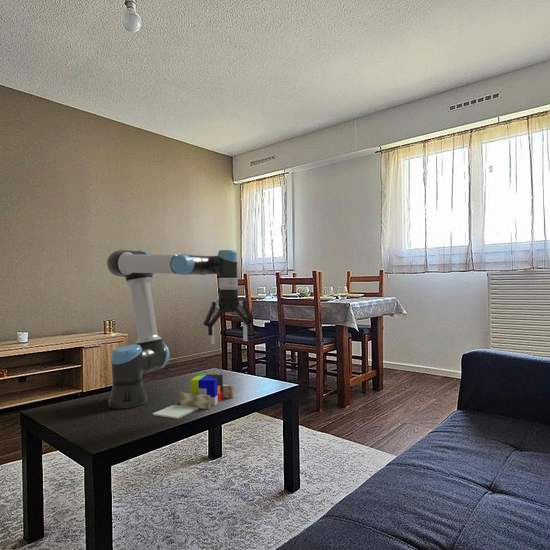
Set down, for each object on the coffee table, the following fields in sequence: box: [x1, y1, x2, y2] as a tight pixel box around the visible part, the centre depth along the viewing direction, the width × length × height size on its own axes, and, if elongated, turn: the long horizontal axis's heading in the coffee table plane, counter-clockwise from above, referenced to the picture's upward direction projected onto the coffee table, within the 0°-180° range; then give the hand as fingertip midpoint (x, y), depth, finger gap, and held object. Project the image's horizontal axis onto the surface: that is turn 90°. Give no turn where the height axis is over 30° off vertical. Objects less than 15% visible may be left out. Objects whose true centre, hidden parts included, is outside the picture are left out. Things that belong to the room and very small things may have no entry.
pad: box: [152, 404, 199, 420], centre depth 157 cm, size 12×12×1 cm
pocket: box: [179, 384, 234, 410], centre depth 170 cm, size 14×17×5 cm
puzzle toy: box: [190, 374, 224, 406], centre depth 170 cm, size 10×10×10 cm
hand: (229, 342), depth 165 cm, fingers open, 13 cm apart
